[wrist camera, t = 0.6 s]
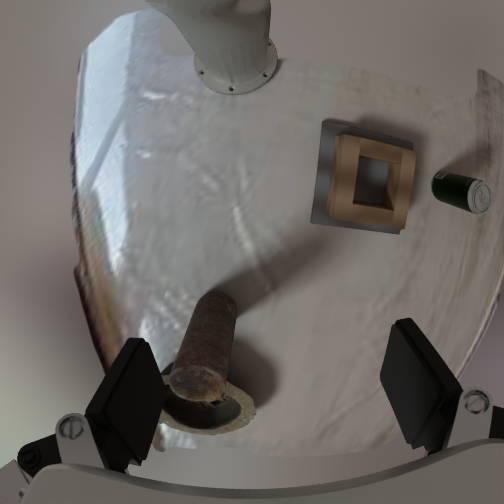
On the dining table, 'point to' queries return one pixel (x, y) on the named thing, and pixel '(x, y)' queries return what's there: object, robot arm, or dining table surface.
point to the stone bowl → (207, 411)
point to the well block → (362, 179)
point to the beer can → (462, 192)
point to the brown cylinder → (205, 350)
